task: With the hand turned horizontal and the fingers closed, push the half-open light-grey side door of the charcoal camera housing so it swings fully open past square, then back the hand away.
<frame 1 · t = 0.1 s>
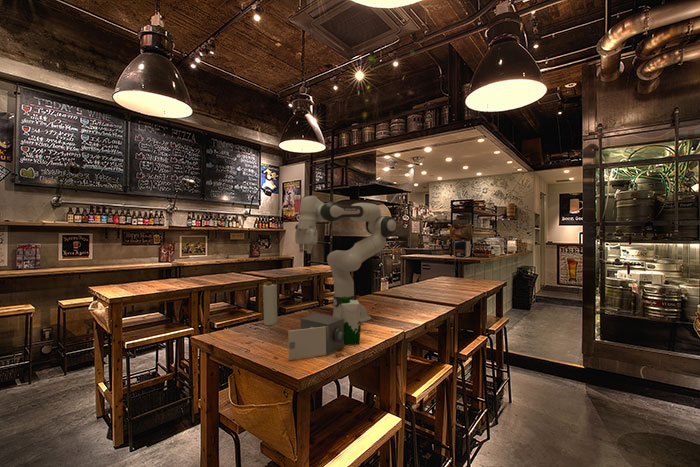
hand: (305, 253, 161), 39 cm above the table, tool pointing down, fingers open, 8 cm apart
paper towel roll: (270, 324, 169), on the table
side door: (309, 342, 123), point 6 cm above the table, hinge at 57.0°
milk carton: (350, 342, 140), on the table
camera housing: (322, 346, 135), on the table
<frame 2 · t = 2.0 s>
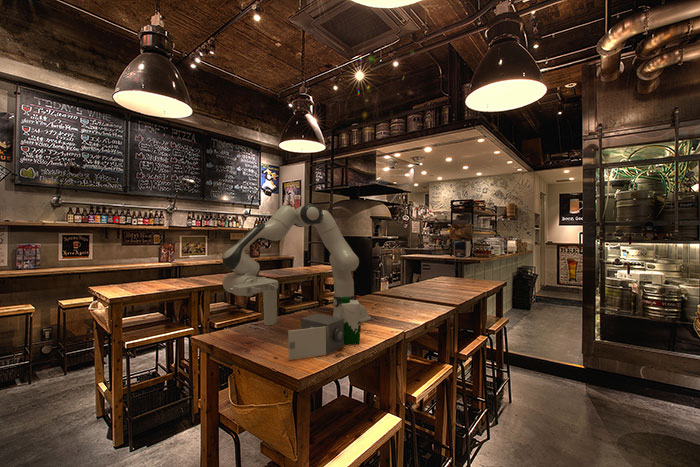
hand: (267, 289, 130), 26 cm above the table, tool horizontal, fingers open, 5 cm apart
nothing on the table moved.
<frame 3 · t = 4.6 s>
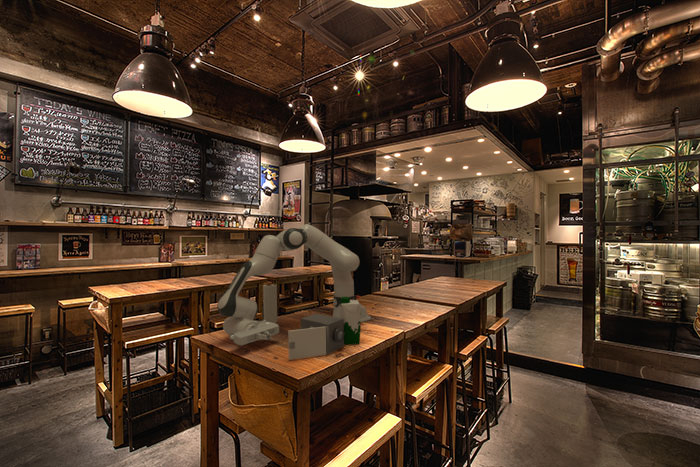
hand: (268, 337, 130), 6 cm above the table, tool horizontal, fingers closed
nothing on the table moved.
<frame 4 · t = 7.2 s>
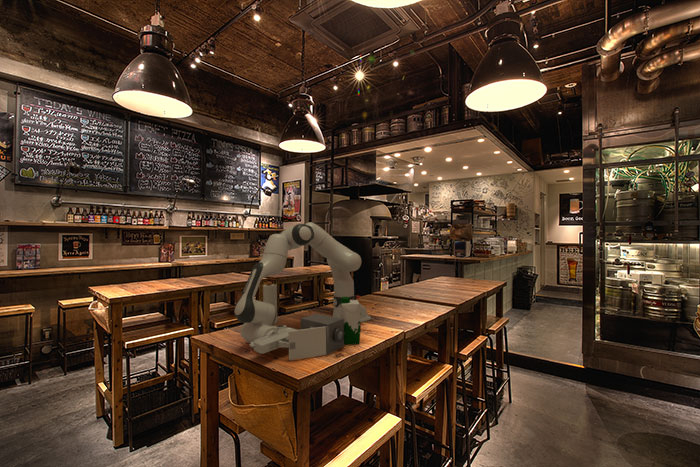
hand: (290, 344, 121), 6 cm above the table, tool horizontal, fingers closed
side door: (309, 342, 123), point 6 cm above the table, hinge at 59.0°, touching gripper
everything else where it was.
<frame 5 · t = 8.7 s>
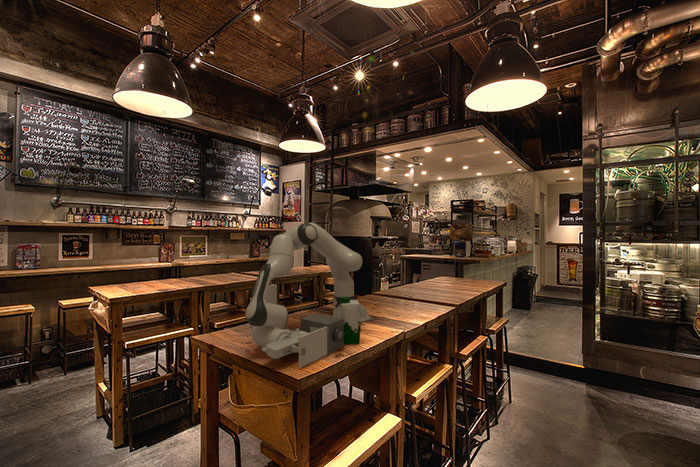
hand: (305, 349, 116), 6 cm above the table, tool horizontal, fingers closed, pressing on side door
side door: (314, 345, 119), point 6 cm above the table, hinge at 91.3°, touching gripper
everything else where it was.
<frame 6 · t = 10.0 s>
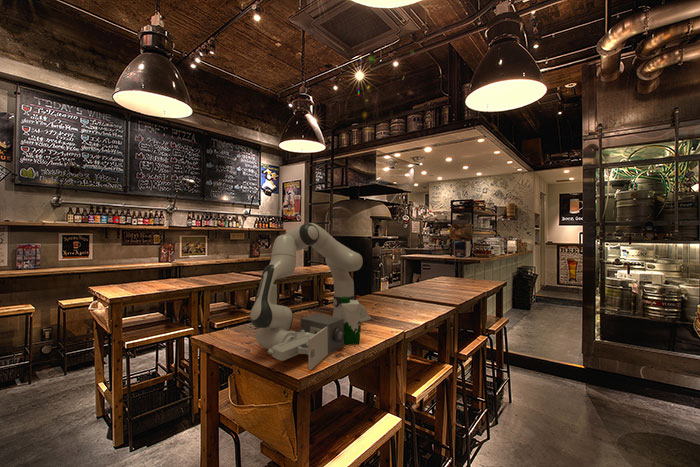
hand: (311, 350, 114), 6 cm above the table, tool horizontal, fingers closed
side door: (319, 346, 118), point 6 cm above the table, hinge at 107.5°, touching gripper
everything else where it was.
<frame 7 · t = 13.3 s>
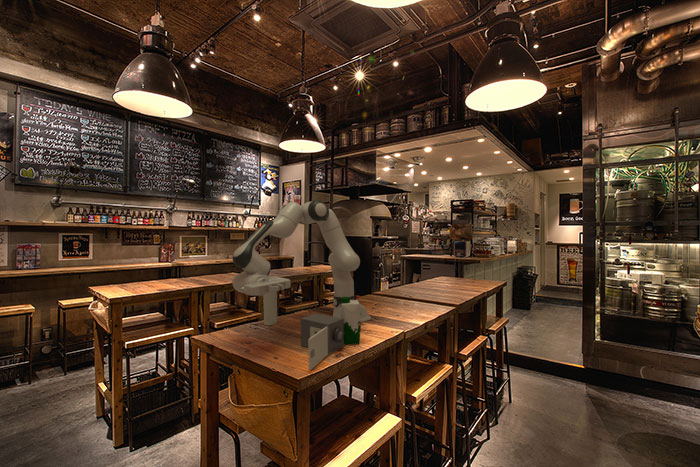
hand: (280, 288, 125), 27 cm above the table, tool horizontal, fingers closed
side door: (319, 346, 118), point 6 cm above the table, hinge at 107.5°
everything else where it was.
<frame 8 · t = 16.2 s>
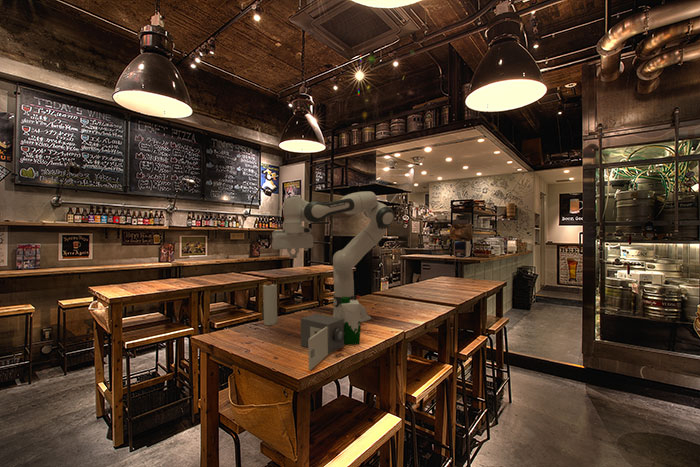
hand: (293, 258, 151), 37 cm above the table, tool pointing down, fingers closed
nothing on the table moved.
at the end: side door at +108° (first picture: +57°); side door touching nothing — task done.
